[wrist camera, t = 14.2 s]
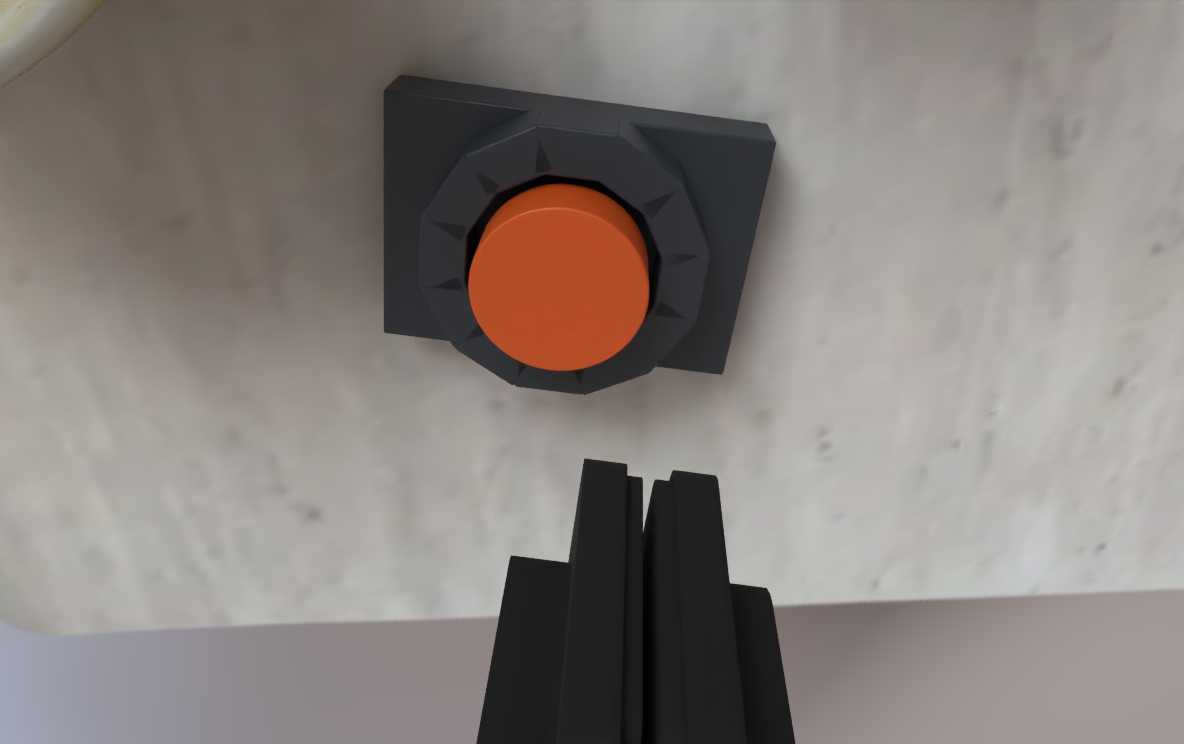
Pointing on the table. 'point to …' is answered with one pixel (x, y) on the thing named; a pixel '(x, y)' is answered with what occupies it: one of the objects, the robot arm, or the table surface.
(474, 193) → the button block
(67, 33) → the bowl
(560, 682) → the robot arm
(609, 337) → the button
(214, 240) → the table surface
